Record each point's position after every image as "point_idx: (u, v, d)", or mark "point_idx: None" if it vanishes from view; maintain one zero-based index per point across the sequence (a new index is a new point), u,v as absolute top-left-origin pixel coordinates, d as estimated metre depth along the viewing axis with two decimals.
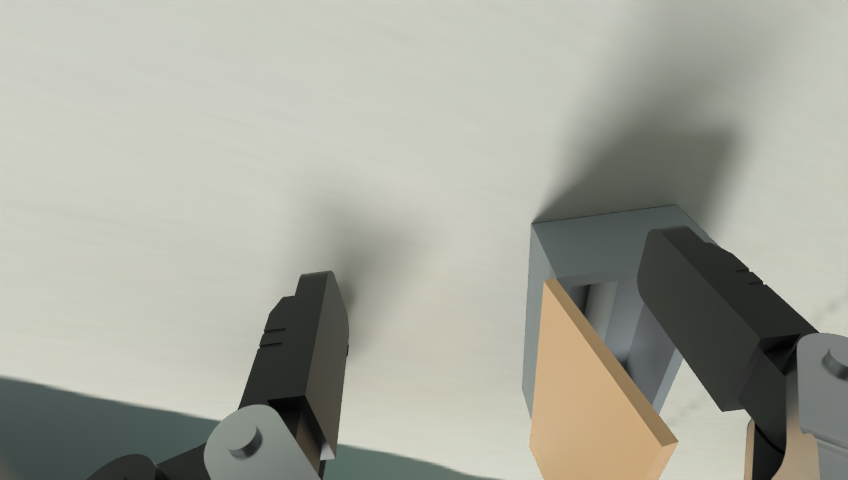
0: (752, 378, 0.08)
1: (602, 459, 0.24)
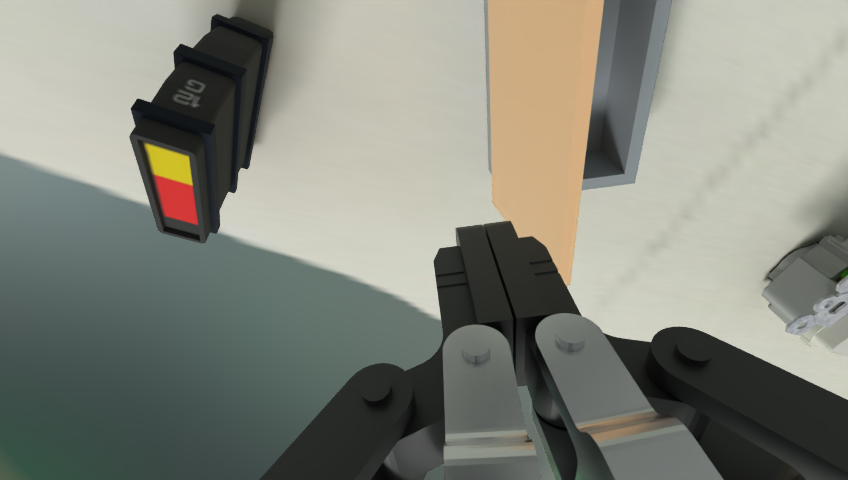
0: (524, 354, 0.09)
1: (552, 7, 0.19)
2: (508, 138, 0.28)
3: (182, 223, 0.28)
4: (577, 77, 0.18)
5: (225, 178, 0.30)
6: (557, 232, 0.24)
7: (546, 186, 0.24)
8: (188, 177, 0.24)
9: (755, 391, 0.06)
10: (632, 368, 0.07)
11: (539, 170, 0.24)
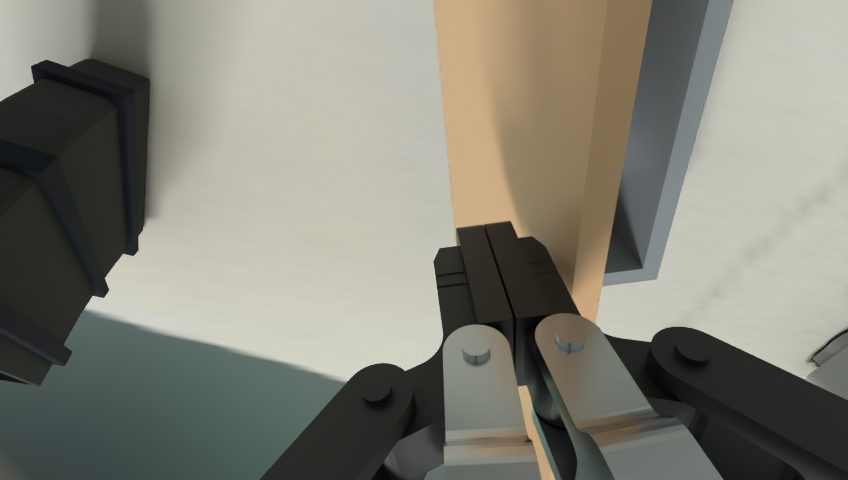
0: (523, 355, 0.09)
1: (528, 88, 0.10)
2: None
3: None
4: (576, 235, 0.09)
5: (70, 293, 0.21)
6: None
7: None
8: None
9: (755, 391, 0.06)
10: (632, 368, 0.07)
11: None
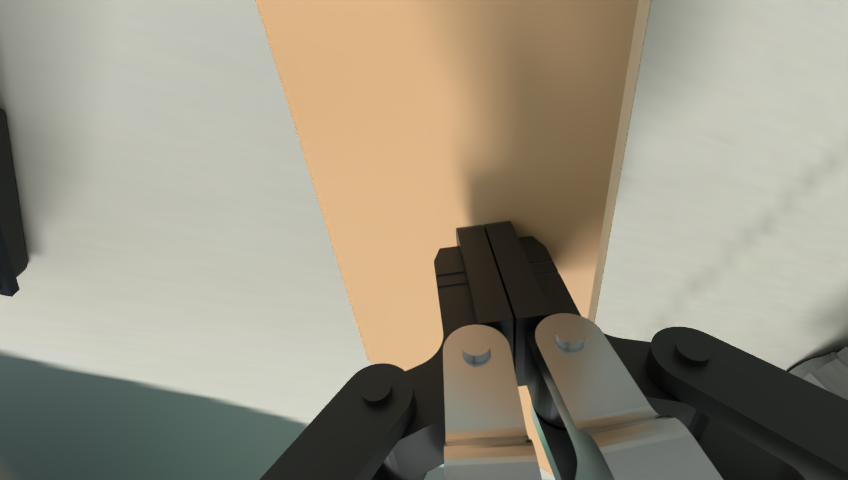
0: (524, 355, 0.09)
1: (496, 98, 0.09)
2: (391, 288, 0.17)
3: None
4: (599, 221, 0.09)
5: None
6: None
7: None
8: None
9: (755, 391, 0.06)
10: (632, 368, 0.07)
11: None
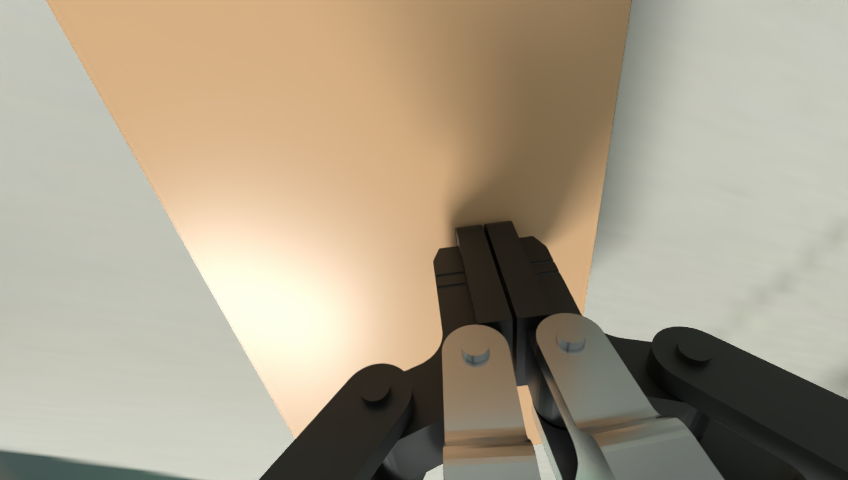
0: (524, 354, 0.09)
1: (498, 101, 0.09)
2: (353, 362, 0.14)
3: None
4: (600, 186, 0.11)
5: None
6: None
7: None
8: None
9: (756, 391, 0.06)
10: (633, 368, 0.07)
11: None
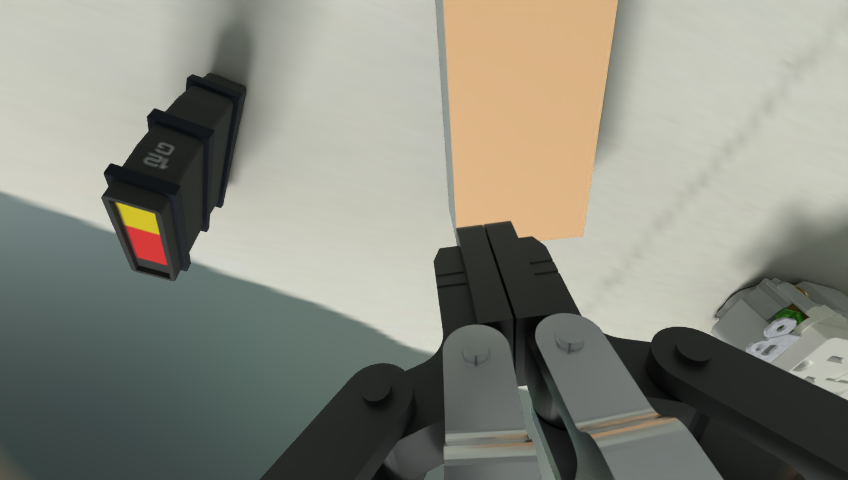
0: (524, 354, 0.09)
1: (570, 55, 0.28)
2: (495, 174, 0.33)
3: (153, 263, 0.31)
4: (603, 89, 0.29)
5: (196, 221, 0.32)
6: (581, 198, 0.34)
7: (564, 176, 0.33)
8: (156, 228, 0.26)
9: (755, 391, 0.06)
10: (632, 368, 0.07)
11: (552, 171, 0.33)
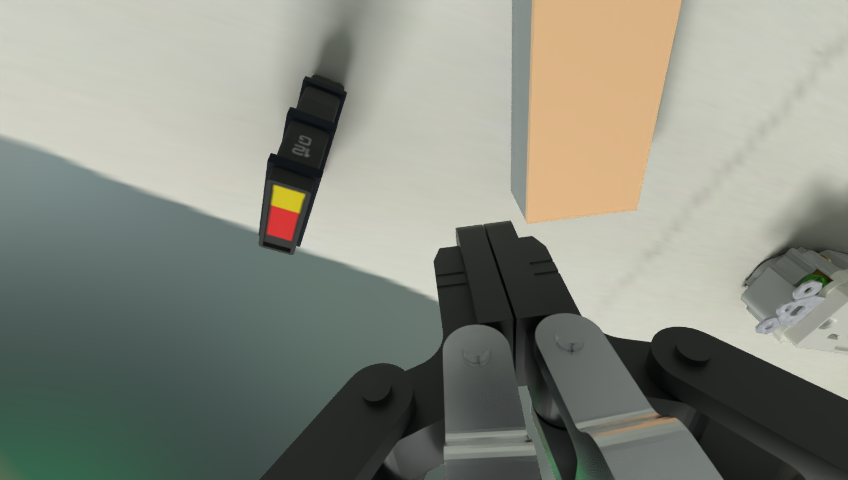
0: (524, 355, 0.09)
1: (637, 52, 0.33)
2: (565, 156, 0.38)
3: (278, 239, 0.36)
4: (663, 80, 0.34)
5: None
6: (637, 176, 0.39)
7: (624, 157, 0.38)
8: (297, 207, 0.32)
9: (755, 391, 0.06)
10: (632, 368, 0.07)
11: (614, 153, 0.38)
